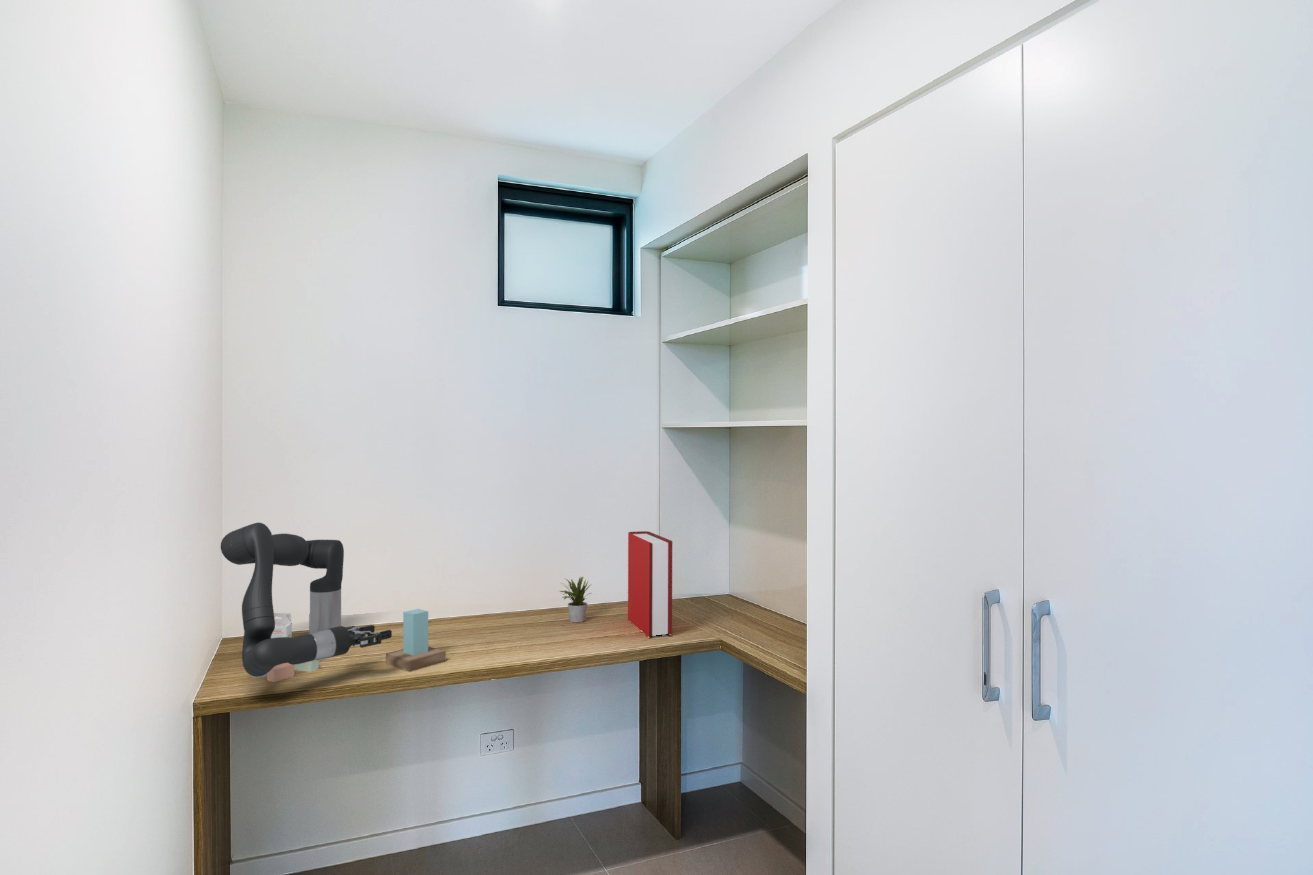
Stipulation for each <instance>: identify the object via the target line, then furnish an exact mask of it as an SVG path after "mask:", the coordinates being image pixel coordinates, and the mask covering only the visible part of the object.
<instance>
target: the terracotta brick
mask: <svg viewBox="0 0 1313 875" xmlns="http://www.w3.org/2000/svg"><path fill="white" fill-rule="evenodd" d="M295 671H296V670H295V665H293V664H289V663H283V664H280V665H277V666H275V667H274V668H273V669H271V670H270V671H269V672H268V673H267V677H266V678H267V681H268V682H272V683H276V682H277V683H278V682H279V681H283V680H285V679H289V678H292V677H295Z"/></svg>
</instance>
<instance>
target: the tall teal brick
mask: <svg viewBox="0 0 1313 875" xmlns="http://www.w3.org/2000/svg"><path fill="white" fill-rule="evenodd" d="M402 618H403V620H402V622H403V625H402V626H403V629H402V632H403V633H402V634H403V635H402V639H403V644H402V645H403V647H402V649H403V653H406V654H409V655H412V656H415V655H418V654H422V653H426V652H428V646H429V611H428V610H424V609H421V608H416V609H412V610H411V609H410V610H406V611H403V616H402Z"/></svg>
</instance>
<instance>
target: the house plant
mask: <svg viewBox="0 0 1313 875" xmlns="http://www.w3.org/2000/svg"><path fill="white" fill-rule="evenodd" d="M578 578H579V579H578V580H577V583H575V582H574V580H573V579H570V580H571V581H570V580H569V579H567V578H565V581H567V582H568V587H569V588H567V585H566V584H564V583H562V582H561V585H563V586H564V587H566V588H567V589H568V590H566V589H565V590H559V592H560V593H562V595H564V596H562V598H561V599H563V600H566V599H569V600H570V601H571V602H568V603H567V607H568V614H569V621H572V622H571V623H573V622H581V623H583V622H582V621H584V622H586V614H587V608H588V602H586V601H585V600H587V598H586V596H588V595H590V594H591V592H589V593H588V594H586V596H584V595H585V593H586V591H587V590H588V589H589V588H590V586H591V584H590V585H588V584H589V581H587V578H585V580H584V576H580V577H578ZM583 580H584V582H583ZM582 583H583V585H582ZM576 584H577V585H576Z"/></svg>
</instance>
